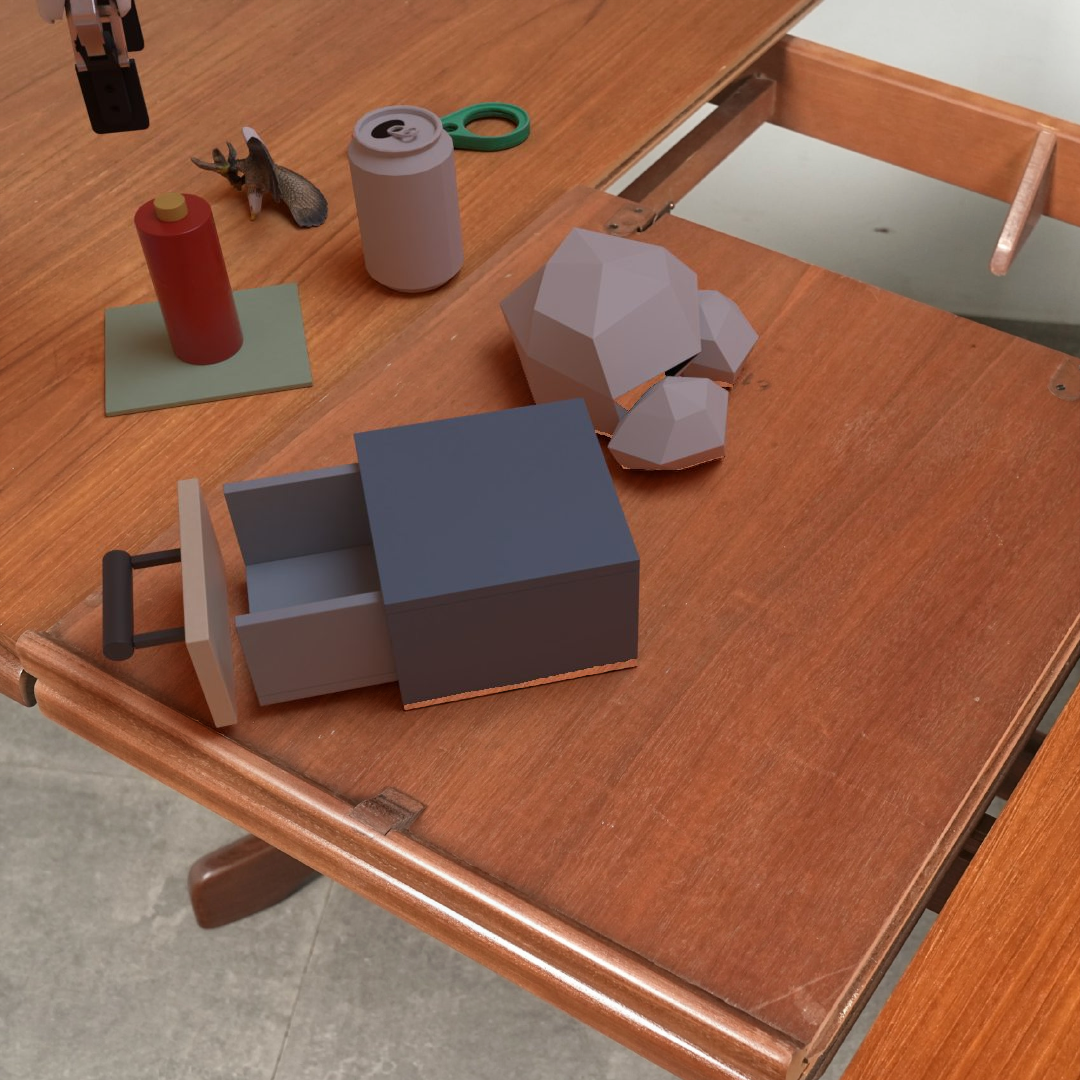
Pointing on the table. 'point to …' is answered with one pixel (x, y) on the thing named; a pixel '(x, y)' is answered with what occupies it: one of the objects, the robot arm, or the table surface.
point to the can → (406, 198)
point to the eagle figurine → (268, 181)
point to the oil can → (189, 277)
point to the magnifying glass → (468, 140)
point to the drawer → (269, 591)
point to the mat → (166, 381)
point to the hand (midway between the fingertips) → (120, 88)
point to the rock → (631, 346)
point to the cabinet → (499, 549)
